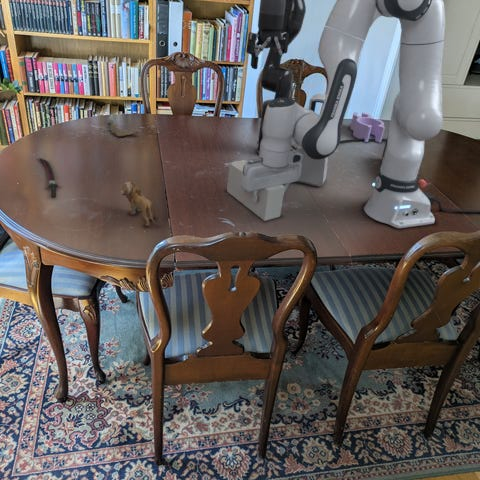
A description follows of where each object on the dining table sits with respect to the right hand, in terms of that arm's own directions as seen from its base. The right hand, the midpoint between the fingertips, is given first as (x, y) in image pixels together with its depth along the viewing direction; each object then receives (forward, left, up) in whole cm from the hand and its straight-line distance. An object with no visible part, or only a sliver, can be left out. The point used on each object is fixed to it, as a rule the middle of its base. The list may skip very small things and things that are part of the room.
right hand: (267, 198), depth 142 cm
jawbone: (+45, -70, -6) cm, 84 cm away
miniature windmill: (-29, -80, -6) cm, 86 cm away
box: (+3, -7, -6) cm, 9 cm away
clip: (-63, -72, -6) cm, 96 cm away
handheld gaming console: (-57, -32, -6) cm, 66 cm away
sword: (+68, -24, -6) cm, 72 cm away
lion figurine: (+38, +1, -6) cm, 39 cm away
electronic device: (-20, -23, -6) cm, 31 cm away
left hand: (-1, -28, +32) cm, 42 cm away
